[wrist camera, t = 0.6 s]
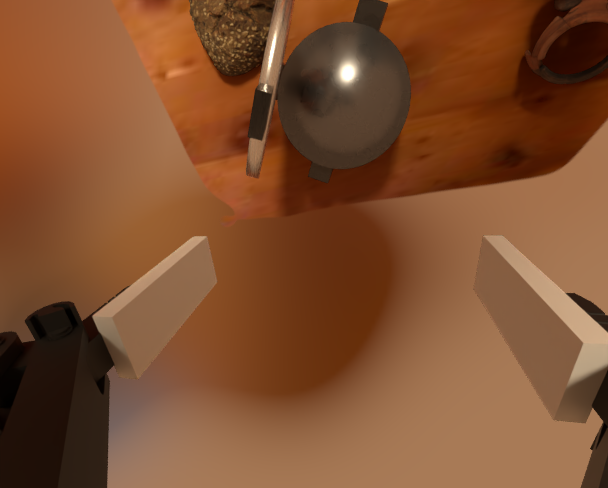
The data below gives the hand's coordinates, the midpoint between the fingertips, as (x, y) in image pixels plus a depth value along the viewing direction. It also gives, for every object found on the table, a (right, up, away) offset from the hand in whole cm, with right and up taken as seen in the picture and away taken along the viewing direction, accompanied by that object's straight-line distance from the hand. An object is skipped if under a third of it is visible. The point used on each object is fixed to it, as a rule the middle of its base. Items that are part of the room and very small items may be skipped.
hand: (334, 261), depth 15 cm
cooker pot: (+5, +22, +29) cm, 37 cm away
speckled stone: (-10, +33, +28) cm, 44 cm away
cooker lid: (-4, +15, +13) cm, 20 cm away
